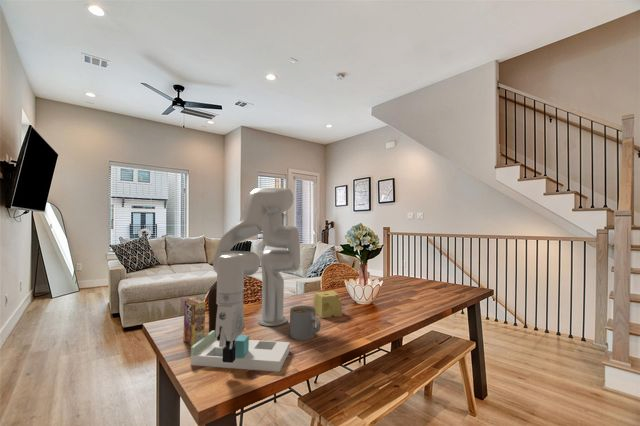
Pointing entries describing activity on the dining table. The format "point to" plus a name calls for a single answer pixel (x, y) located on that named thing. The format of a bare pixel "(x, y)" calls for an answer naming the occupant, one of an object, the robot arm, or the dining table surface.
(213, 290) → the olive oil
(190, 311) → the candy box
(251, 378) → the dining table surface
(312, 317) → the coffee mug
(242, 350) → the block
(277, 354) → the white board with holes
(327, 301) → the cheese
